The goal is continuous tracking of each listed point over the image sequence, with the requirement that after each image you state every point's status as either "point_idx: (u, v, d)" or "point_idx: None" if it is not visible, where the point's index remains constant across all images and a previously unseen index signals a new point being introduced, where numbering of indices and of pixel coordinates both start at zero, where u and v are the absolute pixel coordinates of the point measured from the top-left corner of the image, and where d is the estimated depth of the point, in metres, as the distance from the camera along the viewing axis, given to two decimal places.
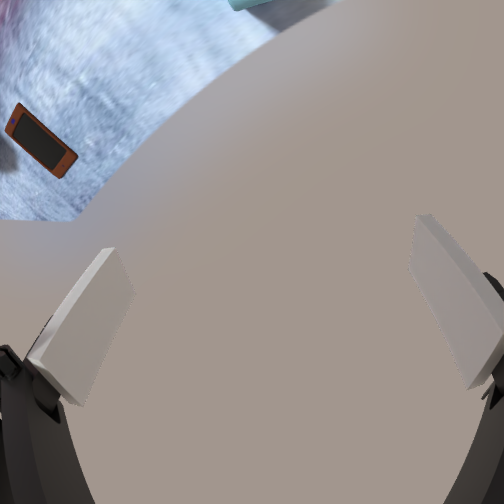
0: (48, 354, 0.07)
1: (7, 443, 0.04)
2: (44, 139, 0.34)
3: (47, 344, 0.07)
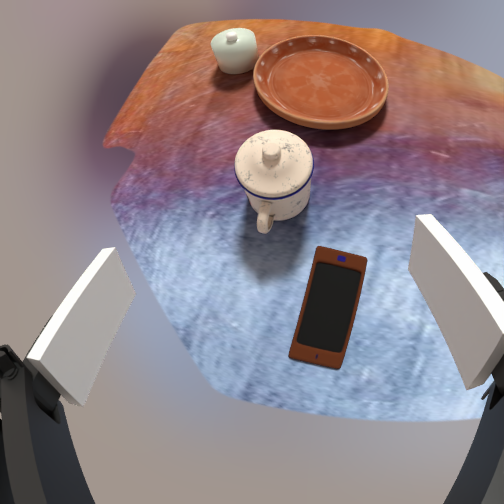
0: (48, 354, 0.07)
1: (7, 443, 0.04)
2: (340, 316, 0.35)
3: (47, 344, 0.07)
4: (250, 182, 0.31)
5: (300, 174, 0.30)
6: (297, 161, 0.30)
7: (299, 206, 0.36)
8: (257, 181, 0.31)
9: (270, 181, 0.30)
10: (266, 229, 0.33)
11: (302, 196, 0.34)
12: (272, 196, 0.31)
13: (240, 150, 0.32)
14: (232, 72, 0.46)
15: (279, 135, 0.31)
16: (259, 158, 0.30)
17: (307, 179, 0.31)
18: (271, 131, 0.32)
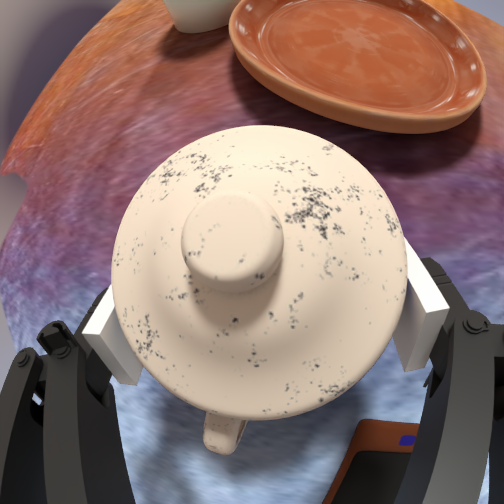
0: (107, 328, 0.08)
1: (47, 428, 0.05)
2: None
3: (106, 318, 0.08)
4: (156, 362, 0.07)
5: (365, 338, 0.07)
6: (357, 279, 0.06)
7: None
8: (180, 366, 0.07)
9: (233, 377, 0.07)
10: (233, 450, 0.10)
11: None
12: None
13: (128, 216, 0.08)
14: (194, 29, 0.22)
15: (275, 145, 0.08)
16: (176, 270, 0.06)
17: None
18: (244, 131, 0.08)
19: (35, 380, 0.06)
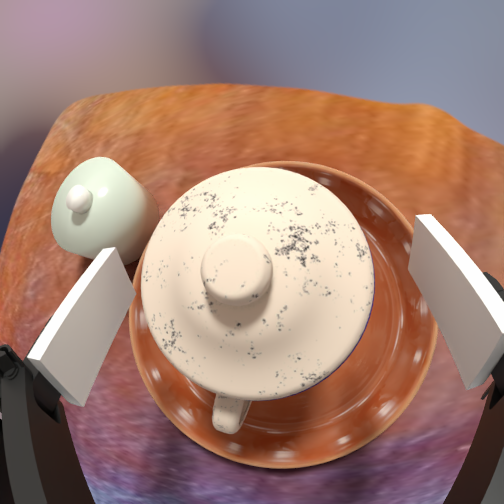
0: (48, 354, 0.07)
1: (7, 443, 0.04)
2: None
3: (47, 344, 0.07)
4: (178, 355, 0.10)
5: (336, 338, 0.09)
6: (329, 295, 0.09)
7: None
8: (197, 358, 0.09)
9: (237, 366, 0.09)
10: (236, 431, 0.12)
11: None
12: None
13: (154, 241, 0.11)
14: None
15: (270, 187, 0.10)
16: (196, 288, 0.09)
17: (354, 345, 0.09)
18: (246, 173, 0.11)
19: None
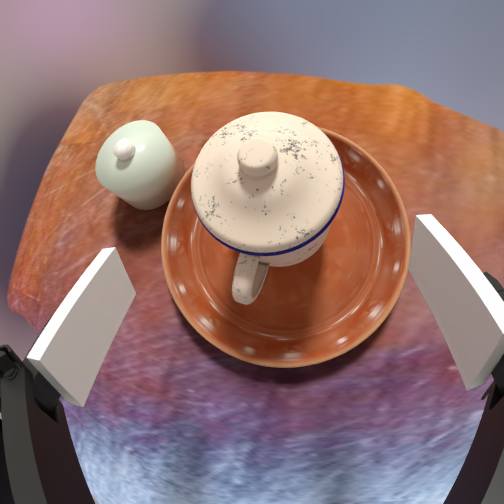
0: (48, 354, 0.07)
1: (7, 443, 0.04)
2: None
3: (47, 344, 0.07)
4: (215, 220, 0.16)
5: (317, 207, 0.15)
6: (312, 178, 0.15)
7: (312, 250, 0.21)
8: (229, 219, 0.15)
9: (254, 221, 0.15)
10: (249, 301, 0.18)
11: (319, 239, 0.19)
12: (258, 251, 0.15)
13: (202, 153, 0.17)
14: (139, 208, 0.30)
15: (278, 121, 0.16)
16: (232, 171, 0.15)
17: (331, 216, 0.15)
18: (263, 114, 0.16)
19: None
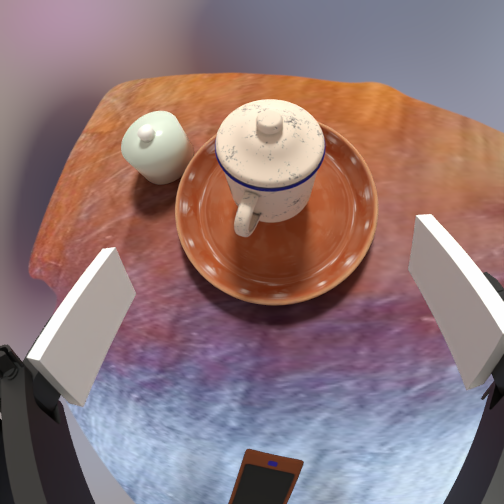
0: (48, 354, 0.07)
1: (7, 443, 0.04)
2: None
3: (47, 344, 0.07)
4: (233, 162, 0.21)
5: (305, 160, 0.21)
6: (303, 142, 0.21)
7: (296, 207, 0.27)
8: (243, 161, 0.21)
9: (261, 164, 0.21)
10: (246, 231, 0.24)
11: (302, 193, 0.25)
12: (261, 185, 0.21)
13: (227, 119, 0.22)
14: (156, 182, 0.37)
15: (283, 106, 0.22)
16: (250, 130, 0.21)
17: (314, 169, 0.21)
18: (273, 101, 0.23)
19: None
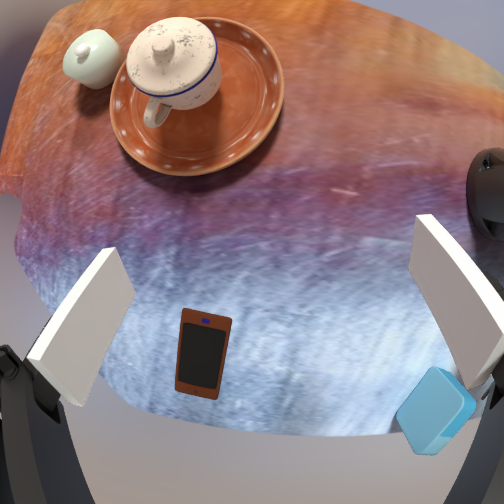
0: (48, 354, 0.07)
1: (7, 443, 0.04)
2: (210, 365, 0.40)
3: (47, 344, 0.07)
4: (137, 77, 0.22)
5: (193, 71, 0.22)
6: (193, 56, 0.21)
7: (200, 99, 0.28)
8: (144, 77, 0.22)
9: (157, 78, 0.22)
10: (153, 125, 0.26)
11: (201, 91, 0.26)
12: (158, 94, 0.23)
13: (136, 40, 0.21)
14: (95, 88, 0.33)
15: (183, 24, 0.20)
16: (149, 51, 0.20)
17: (202, 77, 0.23)
18: (176, 19, 0.20)
19: None
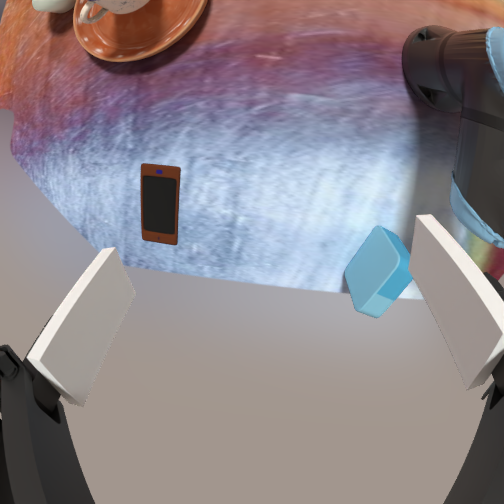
0: (48, 354, 0.07)
1: (7, 443, 0.04)
2: (167, 211, 0.49)
3: (47, 344, 0.07)
4: None
5: None
6: None
7: (128, 5, 0.25)
8: None
9: None
10: (85, 21, 0.23)
11: None
12: None
13: None
14: (62, 12, 0.28)
15: None
16: None
17: None
18: None
19: None
